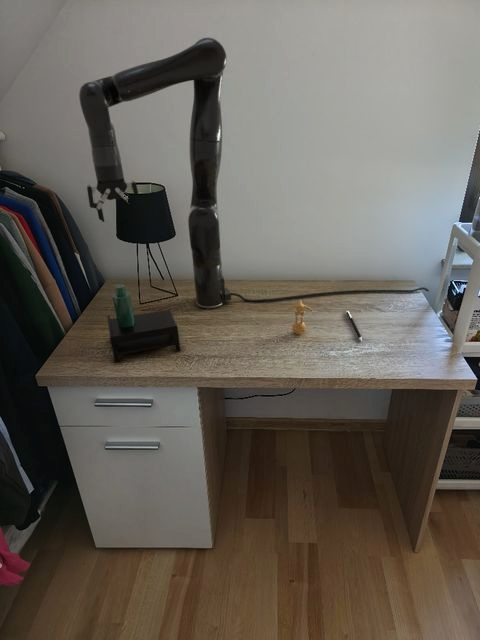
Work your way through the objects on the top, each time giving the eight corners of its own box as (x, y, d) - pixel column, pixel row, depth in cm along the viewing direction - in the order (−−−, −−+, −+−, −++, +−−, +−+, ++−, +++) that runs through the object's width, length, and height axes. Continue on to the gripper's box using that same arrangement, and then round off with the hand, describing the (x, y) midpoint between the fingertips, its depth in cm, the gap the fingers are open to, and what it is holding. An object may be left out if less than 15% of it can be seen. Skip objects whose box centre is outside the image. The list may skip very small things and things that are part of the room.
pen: (348, 312, 155) (348, 308, 154) (363, 342, 139) (363, 339, 138) (345, 312, 155) (345, 309, 154) (360, 342, 139) (360, 339, 138)
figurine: (312, 330, 146) (313, 294, 139) (313, 340, 141) (315, 303, 134) (284, 329, 146) (285, 294, 140) (285, 340, 141) (285, 303, 134)
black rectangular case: (172, 329, 147) (169, 305, 143) (180, 351, 137) (177, 325, 132) (112, 339, 142) (107, 315, 138) (115, 362, 132) (109, 337, 128)
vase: (134, 318, 139) (127, 281, 133) (136, 325, 135) (129, 288, 129) (117, 320, 138) (109, 284, 132) (118, 328, 134) (111, 291, 128)
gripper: (81, 167, 131) (93, 226, 139) (134, 162, 134) (143, 220, 143) (80, 162, 137) (92, 219, 145) (131, 158, 140) (140, 213, 149)
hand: (118, 219), depth 144 cm, fingers open, 8 cm apart
